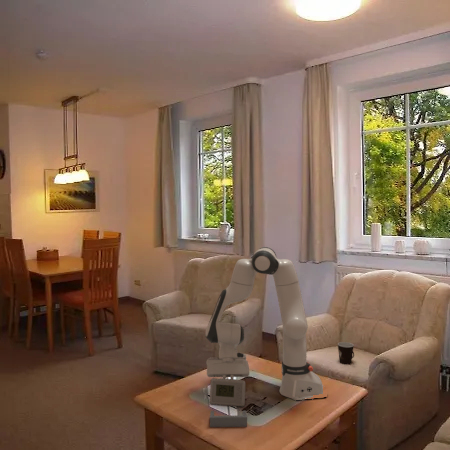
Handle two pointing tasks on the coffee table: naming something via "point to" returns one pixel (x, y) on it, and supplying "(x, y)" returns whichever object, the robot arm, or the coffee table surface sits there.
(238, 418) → the dock
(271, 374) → the coffee table surface
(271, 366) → the coffee table surface
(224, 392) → the digital clock
